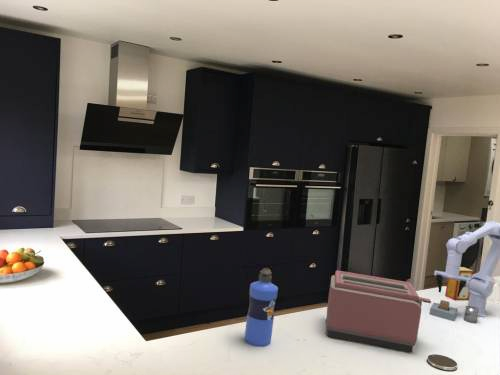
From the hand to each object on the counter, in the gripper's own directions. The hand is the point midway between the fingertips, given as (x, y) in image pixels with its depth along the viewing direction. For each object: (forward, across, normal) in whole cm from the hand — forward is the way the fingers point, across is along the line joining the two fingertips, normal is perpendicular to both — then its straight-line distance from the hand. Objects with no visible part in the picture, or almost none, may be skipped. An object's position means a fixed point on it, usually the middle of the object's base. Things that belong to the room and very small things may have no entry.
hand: (448, 294), depth 196 cm
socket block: (+9, -1, -2) cm, 10 cm away
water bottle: (+9, -48, -88) cm, 101 cm away
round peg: (+9, +10, 0) cm, 14 cm away
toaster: (+9, -19, -52) cm, 56 cm away
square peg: (+9, -1, -2) cm, 10 cm away
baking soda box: (+10, +1, +33) cm, 34 cm away
